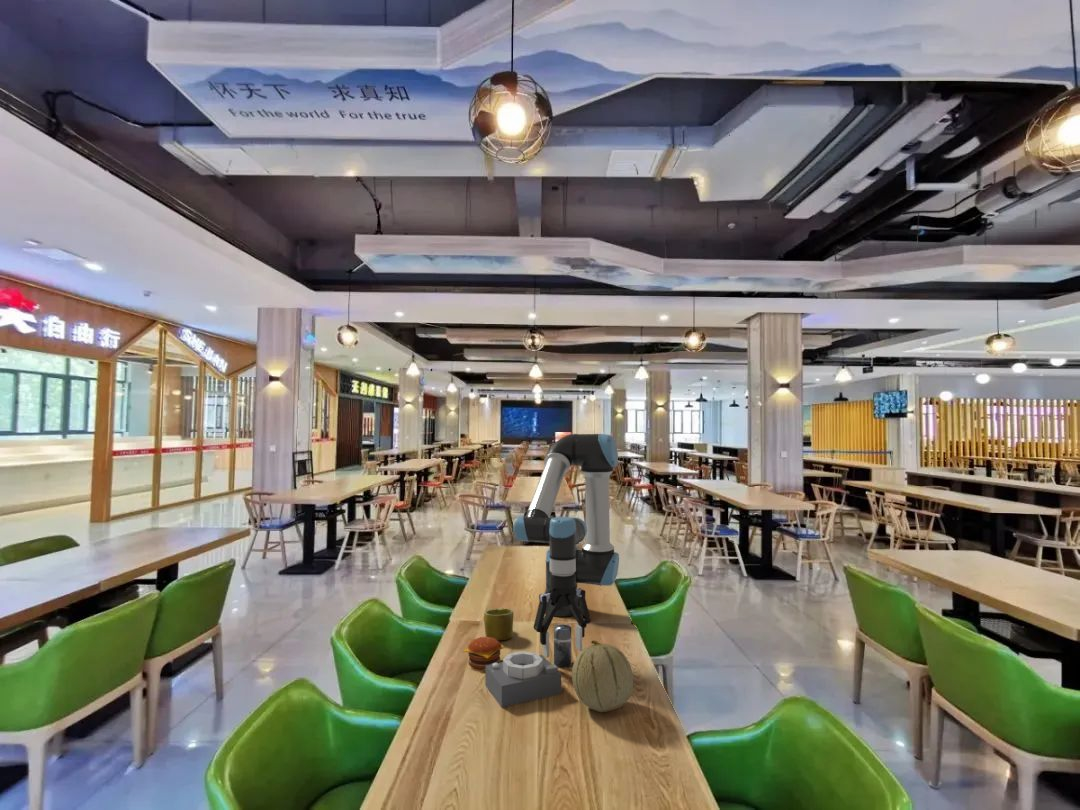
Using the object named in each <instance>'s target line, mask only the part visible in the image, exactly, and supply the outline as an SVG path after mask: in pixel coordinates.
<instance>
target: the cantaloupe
mask: <svg viewBox="0 0 1080 810" xmlns="http://www.w3.org/2000/svg"><path fill="white" fill-rule="evenodd" d="M590 643H591V644H592V645H589V646H586V647H585V648H582V651H579V653H578V655H576V657H575V660H574V663H573V665H572V671H571V676H572V678H571V679H572V686H573V688H574V691H575V694H576V696H577V698H578V699H579V700H580V702H581V703H582V704H583V705H585V707H588V709H591V710H592V711H596V712H599V713H605V712H611V711H613V710H617V709H619V708H621V707H622V706H624V705H625V704H626V703H627V702H628V701H629V699H630V697H631V695H632V691H633V688H634V675H633V671H632V670H633V669H632V666H631V663H630V662H629V659H627V657H626V656H625V654H624V652H623V651H621V650H620V649H619V648H618V647H616V646H615V645H611V644H607V643H599V641H597V640H593V639H592V640H591V642H590Z"/></svg>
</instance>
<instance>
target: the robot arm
mask: <svg viewBox="0 0 1080 810" xmlns="http://www.w3.org/2000/svg"><path fill="white" fill-rule="evenodd" d="M618 453H619V452H618V447H617V443H616V440H615V438H614V437H613V436H612V435H611V434H604V433H588V434H587V433H583V434H582V433H571V434H567V435H565V436H563V437H561V438H559V439H558V440H557V441H556V442H554V443H553V444H552V446H551V447H550V448H549V449H548V451H547V452H546V454H545V457H544V460H543V463H544V467H543V471H542V472H541V475H540V478H539V481H538V482H537V485H536V489H535V490H534V493H533V496H532V499H531V501H530V504H529V506H528V509H527V512H526V514H525V515H522V516H521V515H520V516H517V517H516V518H515V520H514V522H513V529H512V530H513V535H514V538H515V539H516V540H517V541H522V542H526V543H529V542H531V543H544V544H549V548H547V550H546V552H545V554H546V555H545V557H546V558H545V590H544V593H540V594H538V595H539V596H538V599H539V602H538V607H537V611H536V616H535V619H534V624H533V629H534V631H536V632H537V633H539V643H540V644H541V645H542V654H543V655H542V656H543V657H545V658H546V659H547V658H550V633H549V632H548V630H549V628H550V626H551V624H552V621H553V618H554V617H574V618H575V620H576V622H577V624H575V625H574V627H575V630H574V631H575V633H574V636H575V638H574V639H575V641H574V642H575V643H574V644H575V647H574V648H576V650H578V651H579V652H581V651H582V650H583V639H584V638H585V632H586V631H585V628H587V624H591V623H592V621H591V616H590V612H589V608H588V605H587V599H586V590H584V589H583V588H581V587H579V588H578V584H585V585H594V586H607V587H608V586H612V585H614V583H615V582H616V579H617V576H618V571H619V565H620V554H619V552H615V546H614V545H613V544H612V542H611V540H610V538H611V536H610V535H611V533H610V532H611V531H610V529H611V527H610V526H611V525H610V520H611V519H610V476H611V475H612V474H613V473H614V468H616V467H618V463H619V460H618V459H619V454H618ZM573 466H574V467H580V472H581V473H582V474H583V475H584V478H585V479H584V480H585V482H584V483H585V521H584V520H583V519H582V518H579V517H569V516H555V517H551V514H552V511H553V508H554V505H555V503H556V500H557V497H558V495H559V491H560V488H561V485H562V482H563V480H564V478H565V477H564V476H565V474H566V473H567V472H568V471H569V470H570V468H571V467H573ZM584 539H585V542H584V544H583V545H582V546H581V549H579V547H578V546H577V545H578V544H580V543H581V542H583V541H584Z"/></svg>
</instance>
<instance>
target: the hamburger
mask: <svg viewBox="0 0 1080 810" xmlns="http://www.w3.org/2000/svg"><path fill="white" fill-rule="evenodd" d="M503 649H506V646H505V645H503V644H502V643H501V641H497V640H496V639H495V638H491V637H486V636H480V637H477V638H474V639H473V640H471V641H470V643H469V644H468V646H467V648H466V649H464V650H463V651H462V653H468V665H469V666H470V667H471V668H473V669H478V670H486V665H491V664H493V663H501V657H500V655H501V650H503Z"/></svg>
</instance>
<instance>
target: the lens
mask: <svg viewBox="0 0 1080 810" xmlns="http://www.w3.org/2000/svg"><path fill="white" fill-rule="evenodd" d="M572 640H573V639H572V627H571V626H570V625H569V624H557V625H554V627H553V664H555V665H556V666H557V667H558V668H561V669H564V668H569V667H571V666H572Z"/></svg>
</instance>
